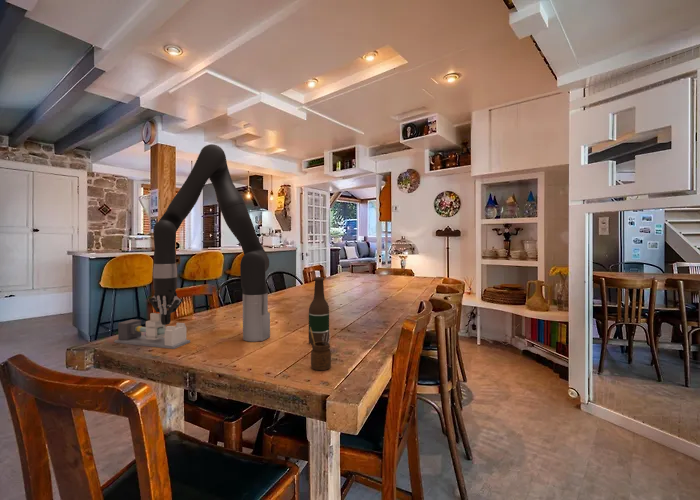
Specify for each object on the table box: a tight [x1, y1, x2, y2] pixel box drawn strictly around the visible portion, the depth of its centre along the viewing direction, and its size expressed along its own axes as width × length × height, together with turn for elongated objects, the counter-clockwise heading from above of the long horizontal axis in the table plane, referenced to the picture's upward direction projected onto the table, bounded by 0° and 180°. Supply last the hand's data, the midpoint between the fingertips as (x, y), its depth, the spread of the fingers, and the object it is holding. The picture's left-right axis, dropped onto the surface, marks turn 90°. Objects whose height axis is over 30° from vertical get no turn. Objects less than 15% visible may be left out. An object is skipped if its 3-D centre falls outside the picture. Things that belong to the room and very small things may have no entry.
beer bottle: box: [308, 276, 330, 345], centre depth 127 cm, size 8×8×24 cm
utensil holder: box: [310, 327, 332, 371], centre depth 102 cm, size 6×6×12 cm
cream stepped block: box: [145, 312, 167, 340], centre depth 125 cm, size 4×5×9 cm
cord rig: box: [114, 319, 191, 350], centre depth 126 cm, size 26×8×7 cm, turn 75°
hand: (165, 324), depth 124 cm, fingers closed
